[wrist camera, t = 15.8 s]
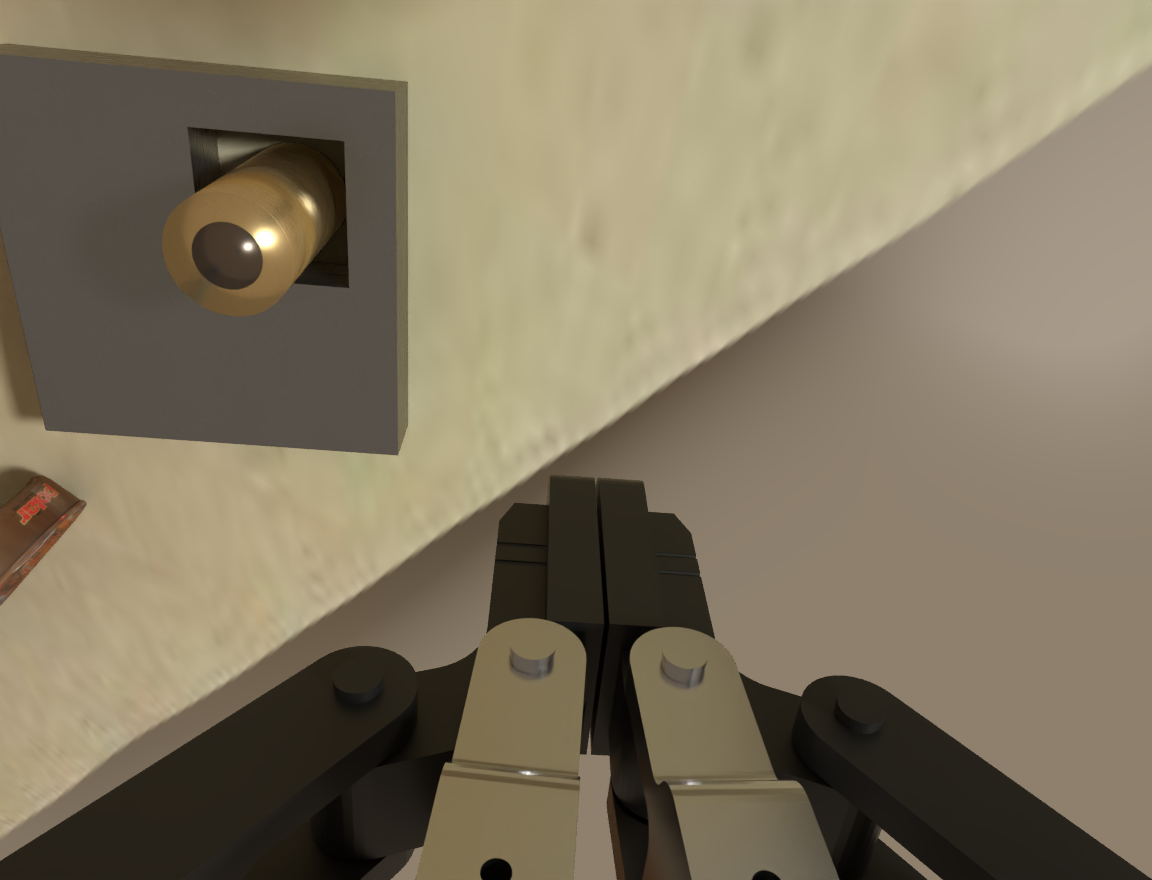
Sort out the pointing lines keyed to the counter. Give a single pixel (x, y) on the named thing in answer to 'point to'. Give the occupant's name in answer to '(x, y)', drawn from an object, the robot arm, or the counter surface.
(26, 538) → the tin
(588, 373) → the counter surface
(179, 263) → the golden brown cylinder
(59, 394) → the jig
